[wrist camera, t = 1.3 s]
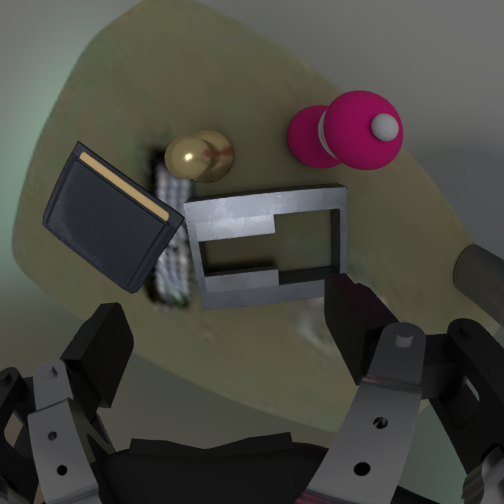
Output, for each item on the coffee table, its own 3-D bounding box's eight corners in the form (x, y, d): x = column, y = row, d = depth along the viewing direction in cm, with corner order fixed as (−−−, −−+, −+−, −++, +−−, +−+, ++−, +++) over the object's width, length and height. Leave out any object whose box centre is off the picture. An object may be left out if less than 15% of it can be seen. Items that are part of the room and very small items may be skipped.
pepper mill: (283, 108, 31) (336, 57, 12) (339, 115, 31) (435, 87, 13) (281, 164, 33) (332, 179, 15) (336, 168, 34) (431, 192, 15)
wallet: (35, 224, 33) (75, 136, 29) (42, 221, 35) (82, 136, 31) (130, 303, 38) (186, 222, 34) (134, 296, 40) (189, 218, 36)
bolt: (230, 127, 32) (224, 110, 19) (236, 177, 34) (233, 193, 21) (179, 135, 32) (142, 125, 19) (185, 184, 34) (153, 204, 21)
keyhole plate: (336, 183, 34) (347, 187, 31) (337, 280, 39) (346, 293, 36) (189, 198, 34) (183, 203, 31) (206, 296, 39) (203, 310, 36)
